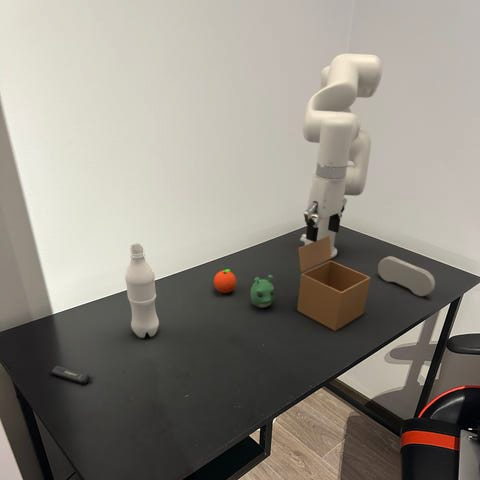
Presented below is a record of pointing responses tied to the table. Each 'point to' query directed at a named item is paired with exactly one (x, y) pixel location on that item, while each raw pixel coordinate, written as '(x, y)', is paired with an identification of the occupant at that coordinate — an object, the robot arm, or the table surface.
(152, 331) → the water bottle
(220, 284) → the clementine
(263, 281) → the alien toy
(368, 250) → the table surface
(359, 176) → the robot arm
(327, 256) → the flap
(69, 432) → the table surface
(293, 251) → the table surface
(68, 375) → the usb stick
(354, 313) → the carton
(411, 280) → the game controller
